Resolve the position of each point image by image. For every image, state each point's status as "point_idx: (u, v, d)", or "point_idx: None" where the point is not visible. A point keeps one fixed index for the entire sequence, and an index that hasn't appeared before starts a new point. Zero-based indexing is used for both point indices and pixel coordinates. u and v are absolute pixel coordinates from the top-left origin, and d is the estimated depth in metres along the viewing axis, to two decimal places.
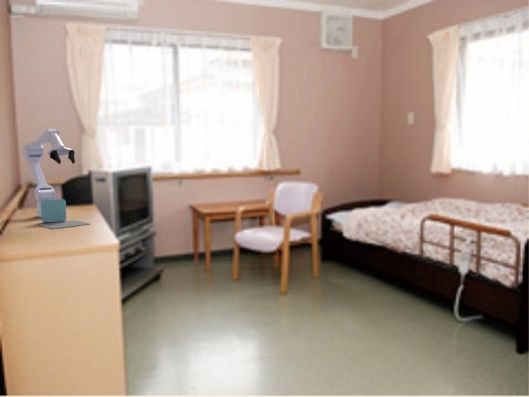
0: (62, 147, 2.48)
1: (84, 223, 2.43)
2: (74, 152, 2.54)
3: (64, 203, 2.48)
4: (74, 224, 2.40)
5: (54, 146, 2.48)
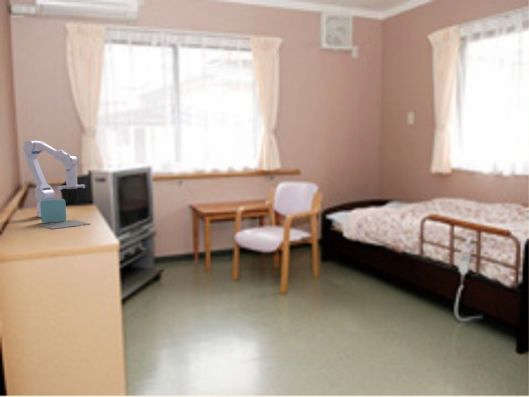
0: (74, 186, 2.59)
1: (84, 223, 2.43)
2: (84, 187, 2.66)
3: (64, 203, 2.48)
4: (74, 224, 2.40)
5: (68, 181, 2.58)
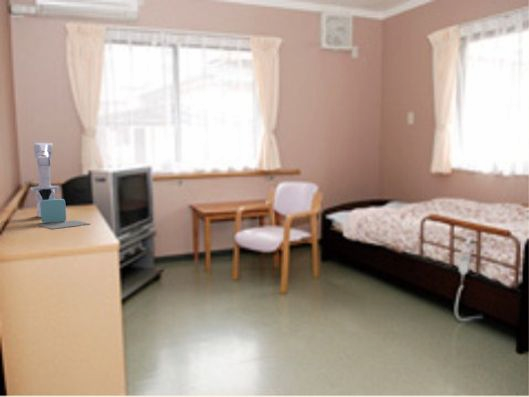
0: (47, 188, 2.51)
1: (84, 223, 2.43)
2: None
3: (64, 203, 2.47)
4: (74, 224, 2.40)
5: (40, 182, 2.50)
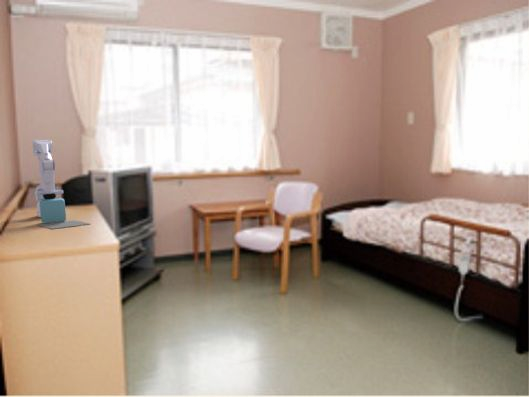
0: (51, 192, 2.47)
1: (84, 223, 2.43)
2: None
3: (63, 204, 2.46)
4: (74, 224, 2.40)
5: (44, 186, 2.46)
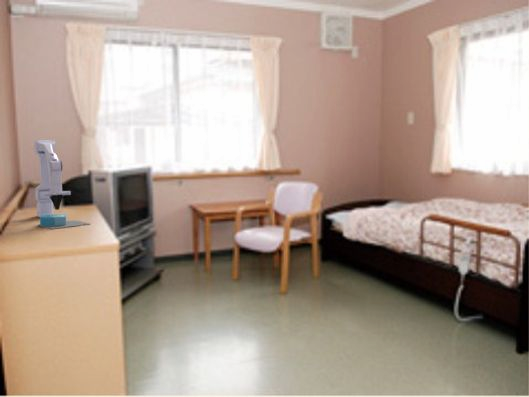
0: (58, 193, 2.42)
1: (84, 223, 2.43)
2: (69, 194, 2.49)
3: (64, 224, 2.39)
4: (74, 224, 2.40)
5: (51, 187, 2.41)
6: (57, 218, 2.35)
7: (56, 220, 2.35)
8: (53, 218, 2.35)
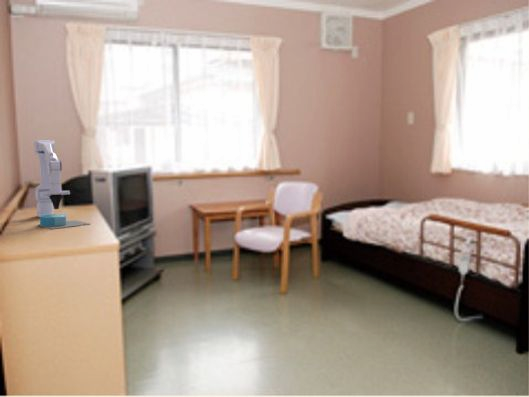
0: (58, 193, 2.42)
1: (84, 223, 2.43)
2: (68, 194, 2.49)
3: (64, 224, 2.39)
4: (74, 224, 2.40)
5: (51, 187, 2.41)
6: (57, 218, 2.35)
7: (56, 220, 2.35)
8: (53, 218, 2.35)
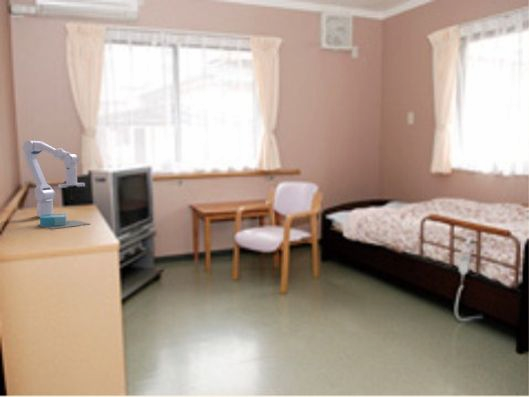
0: None
1: (84, 223, 2.43)
2: None
3: (64, 224, 2.39)
4: (74, 224, 2.40)
5: (68, 179, 2.58)
6: (57, 218, 2.35)
7: (56, 220, 2.35)
8: (53, 218, 2.35)
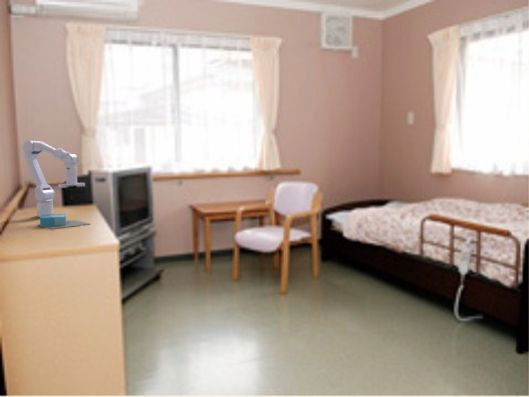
0: None
1: (84, 223, 2.43)
2: None
3: (64, 224, 2.39)
4: (74, 224, 2.40)
5: (68, 179, 2.58)
6: (57, 218, 2.35)
7: (56, 220, 2.35)
8: (53, 218, 2.35)
